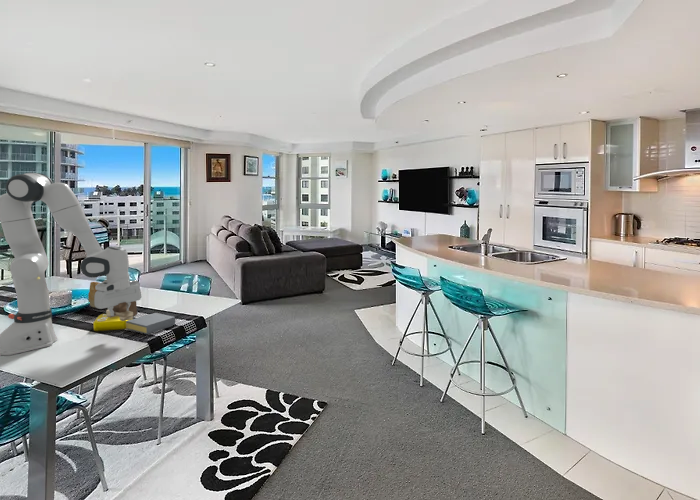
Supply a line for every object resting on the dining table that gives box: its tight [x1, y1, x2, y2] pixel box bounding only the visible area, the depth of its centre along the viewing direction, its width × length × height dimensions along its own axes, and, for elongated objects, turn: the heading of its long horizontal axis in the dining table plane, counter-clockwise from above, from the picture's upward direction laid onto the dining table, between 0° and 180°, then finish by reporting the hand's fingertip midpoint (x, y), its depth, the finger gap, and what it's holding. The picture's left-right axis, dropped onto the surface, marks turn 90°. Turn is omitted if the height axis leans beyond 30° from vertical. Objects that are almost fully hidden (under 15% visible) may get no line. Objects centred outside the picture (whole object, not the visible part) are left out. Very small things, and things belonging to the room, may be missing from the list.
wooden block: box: [129, 301, 138, 317], centre depth 226 cm, size 9×4×18 cm, turn 178°
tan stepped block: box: [105, 309, 134, 321], centre depth 196 cm, size 5×12×3 cm, turn 62°
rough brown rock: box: [87, 281, 100, 309], centre depth 244 cm, size 23×17×15 cm
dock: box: [126, 312, 176, 335], centre depth 212 cm, size 16×14×4 cm
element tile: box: [92, 313, 132, 332], centre depth 214 cm, size 15×15×5 cm
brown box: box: [113, 302, 127, 313], centre depth 196 cm, size 3×5×4 cm, turn 62°
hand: (119, 314), depth 196 cm, fingers closed on tan stepped block, 5 cm apart
